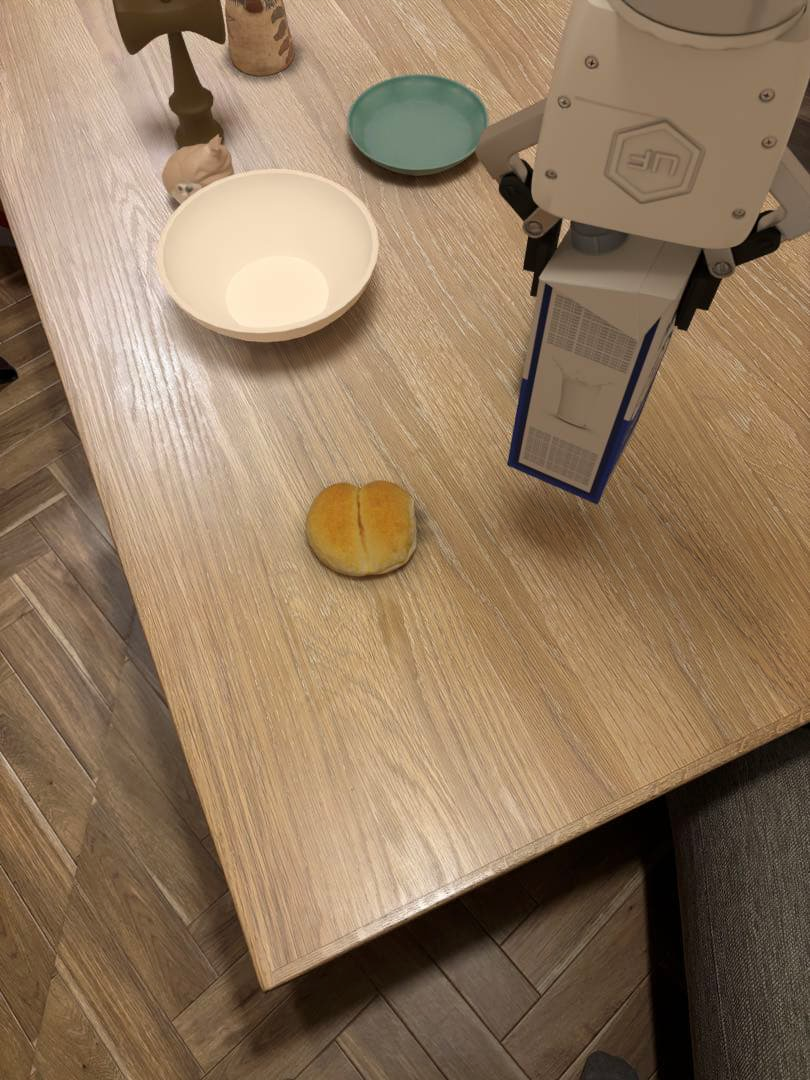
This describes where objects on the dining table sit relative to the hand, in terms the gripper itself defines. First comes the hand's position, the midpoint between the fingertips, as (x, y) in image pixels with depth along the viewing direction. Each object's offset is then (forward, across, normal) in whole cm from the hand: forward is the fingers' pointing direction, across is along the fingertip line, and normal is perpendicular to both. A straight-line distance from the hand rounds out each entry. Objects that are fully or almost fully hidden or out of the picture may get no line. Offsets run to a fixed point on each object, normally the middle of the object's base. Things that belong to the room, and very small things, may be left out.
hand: (612, 292), depth 47 cm
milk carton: (+15, 0, 0) cm, 15 cm away
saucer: (+27, -23, +41) cm, 55 cm away
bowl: (+27, -30, +16) cm, 43 cm away
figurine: (+27, -44, +50) cm, 72 cm away
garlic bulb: (+27, -41, +27) cm, 56 cm away
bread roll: (+27, -14, -5) cm, 31 cm away
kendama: (+27, -45, +35) cm, 63 cm away
